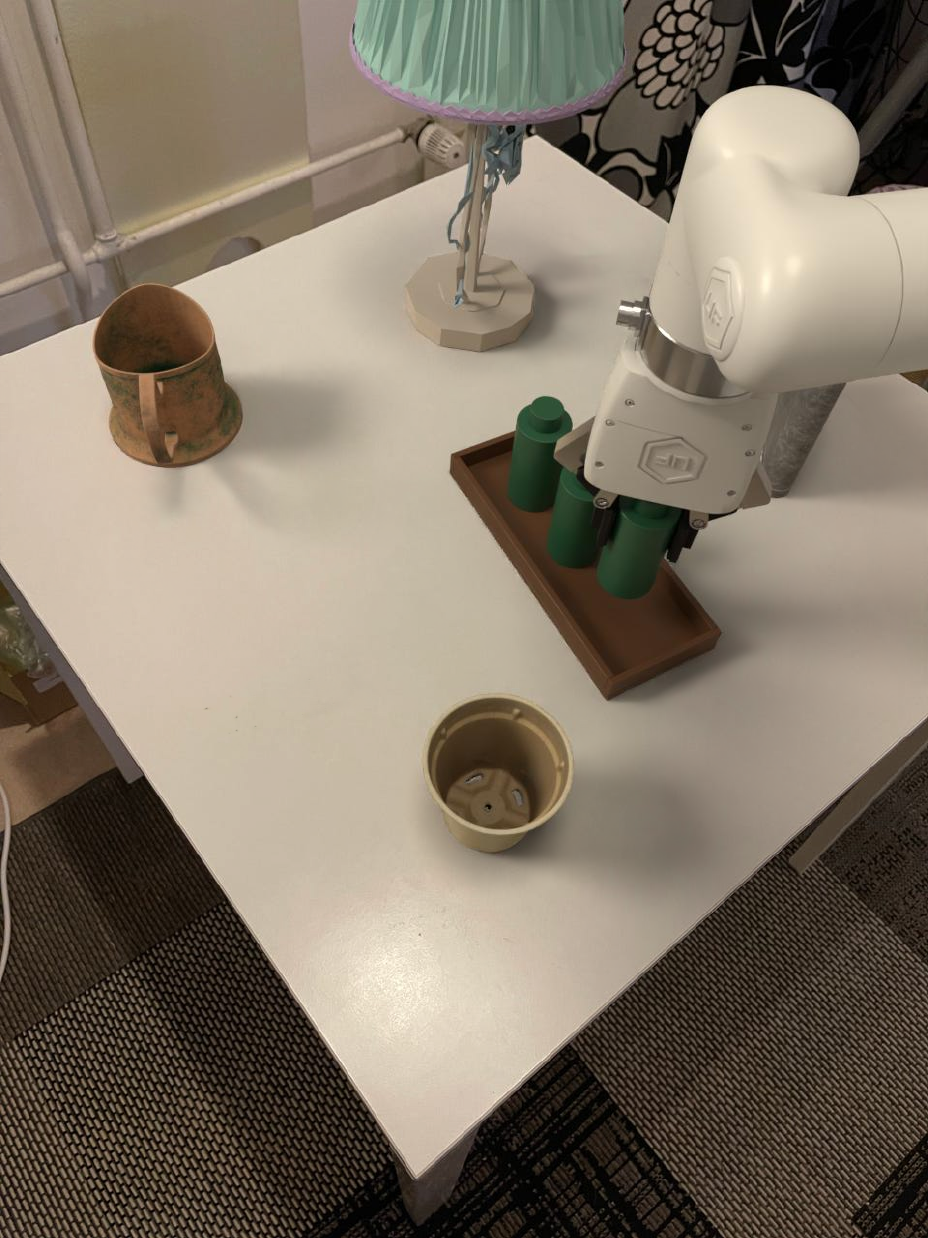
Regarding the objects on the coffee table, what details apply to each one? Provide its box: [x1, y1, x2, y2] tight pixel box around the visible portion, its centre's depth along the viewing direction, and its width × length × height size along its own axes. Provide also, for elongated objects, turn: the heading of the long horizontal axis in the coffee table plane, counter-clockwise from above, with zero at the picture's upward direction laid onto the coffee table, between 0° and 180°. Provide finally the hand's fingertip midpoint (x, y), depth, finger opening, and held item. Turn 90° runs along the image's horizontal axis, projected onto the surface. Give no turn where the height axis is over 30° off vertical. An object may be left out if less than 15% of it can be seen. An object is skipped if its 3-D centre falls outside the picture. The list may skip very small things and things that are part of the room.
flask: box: [761, 382, 848, 499], centre depth 77 cm, size 4×14×18 cm, turn 171°
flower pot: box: [422, 692, 575, 853], centre depth 60 cm, size 9×9×9 cm
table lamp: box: [348, 0, 628, 353], centre depth 76 cm, size 22×22×40 cm
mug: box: [92, 282, 243, 468], centre depth 76 cm, size 12×18×12 cm, turn 11°
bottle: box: [597, 495, 682, 599], centre depth 66 cm, size 4×4×10 cm
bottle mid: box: [546, 467, 600, 568], centre depth 72 cm, size 4×4×10 cm
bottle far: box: [507, 395, 574, 512], centre depth 75 cm, size 4×4×10 cm
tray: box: [449, 430, 724, 701], centre depth 75 cm, size 25×10×2 cm, turn 28°
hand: (638, 537), depth 66 cm, fingers closed on bottle, 4 cm apart
